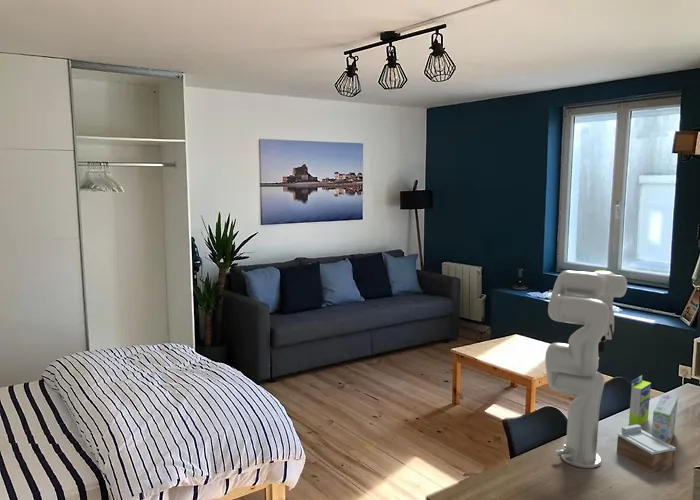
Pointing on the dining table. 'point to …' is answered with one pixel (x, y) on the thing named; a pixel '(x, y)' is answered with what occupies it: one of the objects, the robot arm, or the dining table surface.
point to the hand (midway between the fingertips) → (598, 351)
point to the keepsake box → (645, 457)
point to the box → (639, 401)
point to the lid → (644, 440)
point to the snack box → (665, 418)
